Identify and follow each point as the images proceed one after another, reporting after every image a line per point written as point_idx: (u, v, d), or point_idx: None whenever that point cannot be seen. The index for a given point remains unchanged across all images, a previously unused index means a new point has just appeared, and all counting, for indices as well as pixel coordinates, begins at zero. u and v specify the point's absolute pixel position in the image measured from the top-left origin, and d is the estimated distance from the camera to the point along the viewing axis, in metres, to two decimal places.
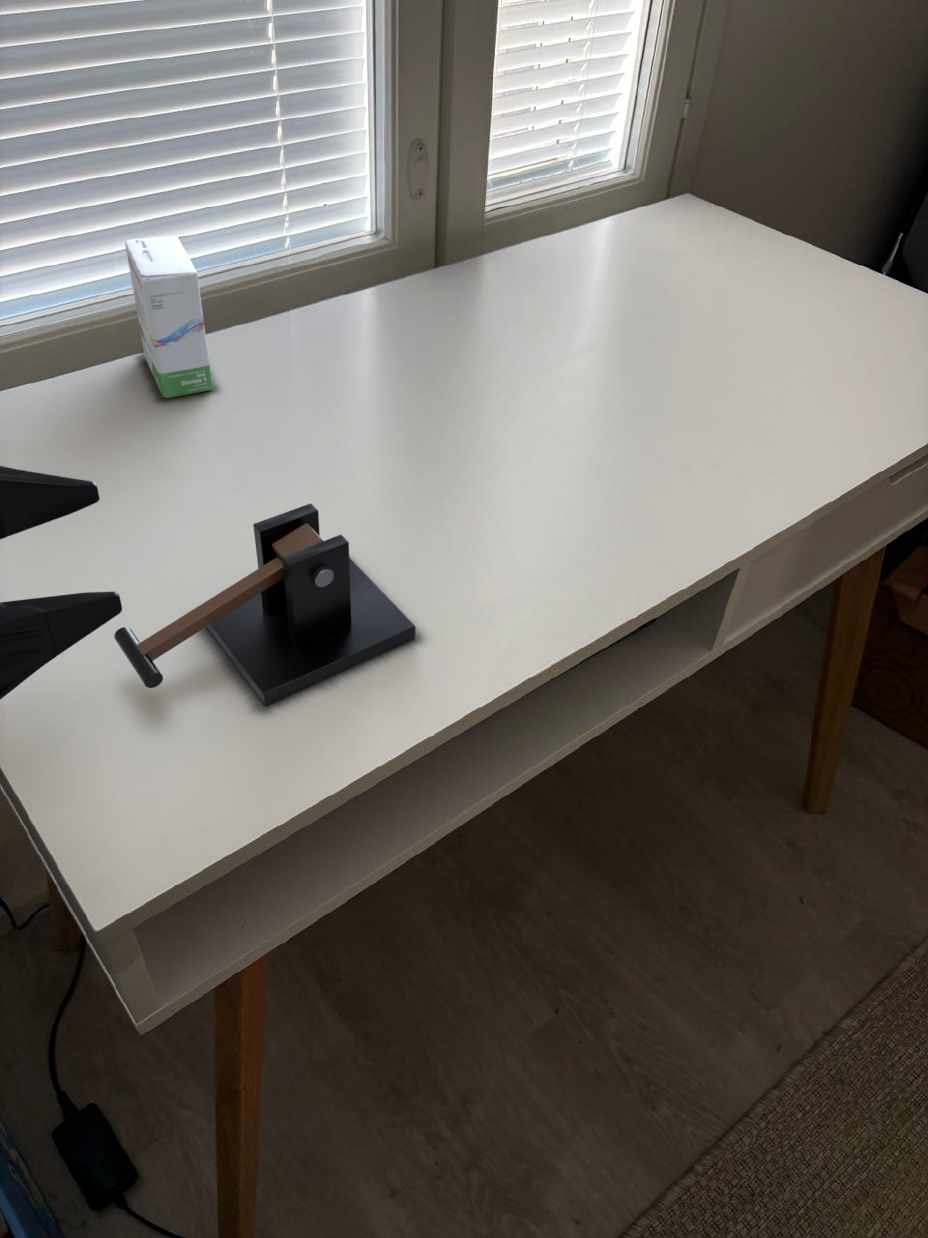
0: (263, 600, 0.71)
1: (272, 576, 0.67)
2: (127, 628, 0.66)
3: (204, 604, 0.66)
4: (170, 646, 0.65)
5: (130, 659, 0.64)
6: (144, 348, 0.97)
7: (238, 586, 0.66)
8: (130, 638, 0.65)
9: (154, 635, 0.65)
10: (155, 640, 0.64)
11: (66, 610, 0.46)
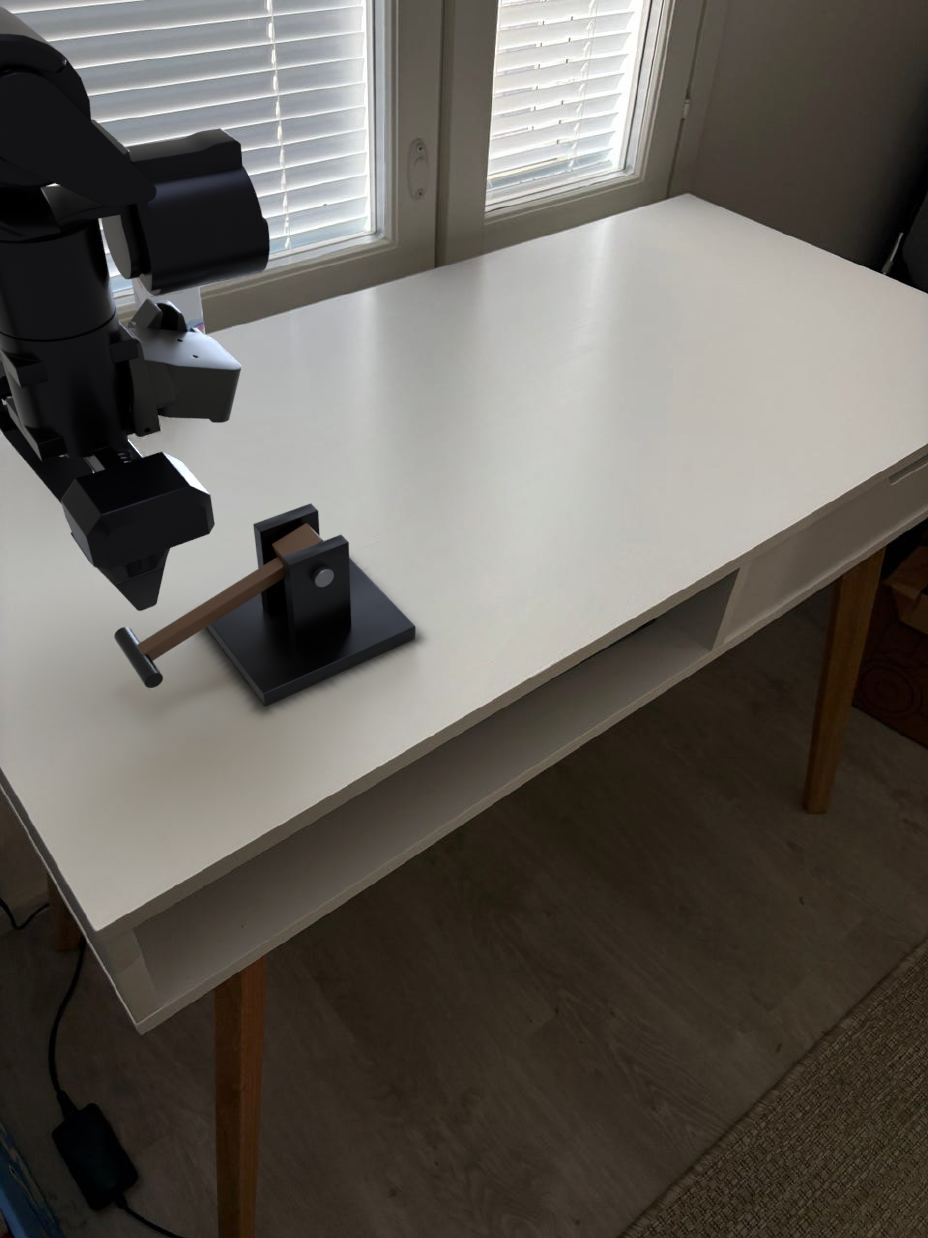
0: (263, 600, 0.71)
1: (272, 576, 0.67)
2: (127, 628, 0.66)
3: (204, 604, 0.66)
4: (170, 646, 0.65)
5: (130, 659, 0.64)
6: None
7: (238, 586, 0.66)
8: (130, 638, 0.65)
9: (154, 635, 0.65)
10: (155, 640, 0.64)
11: (159, 578, 0.55)
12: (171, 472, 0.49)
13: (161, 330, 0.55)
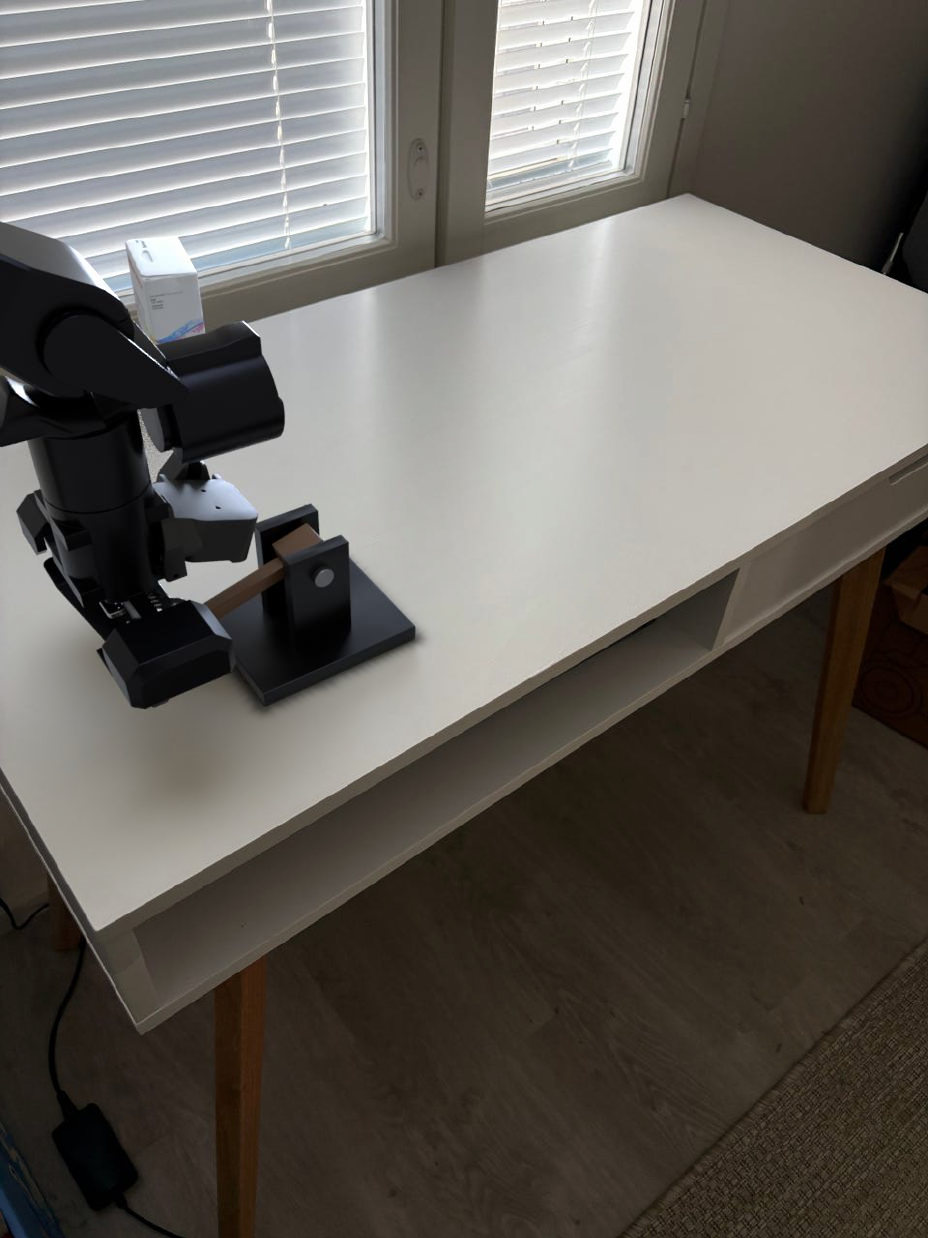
0: (263, 600, 0.71)
1: (272, 576, 0.67)
2: None
3: (204, 604, 0.66)
4: None
5: None
6: None
7: (238, 586, 0.66)
8: None
9: None
10: None
11: None
12: (198, 621, 0.56)
13: (187, 481, 0.61)
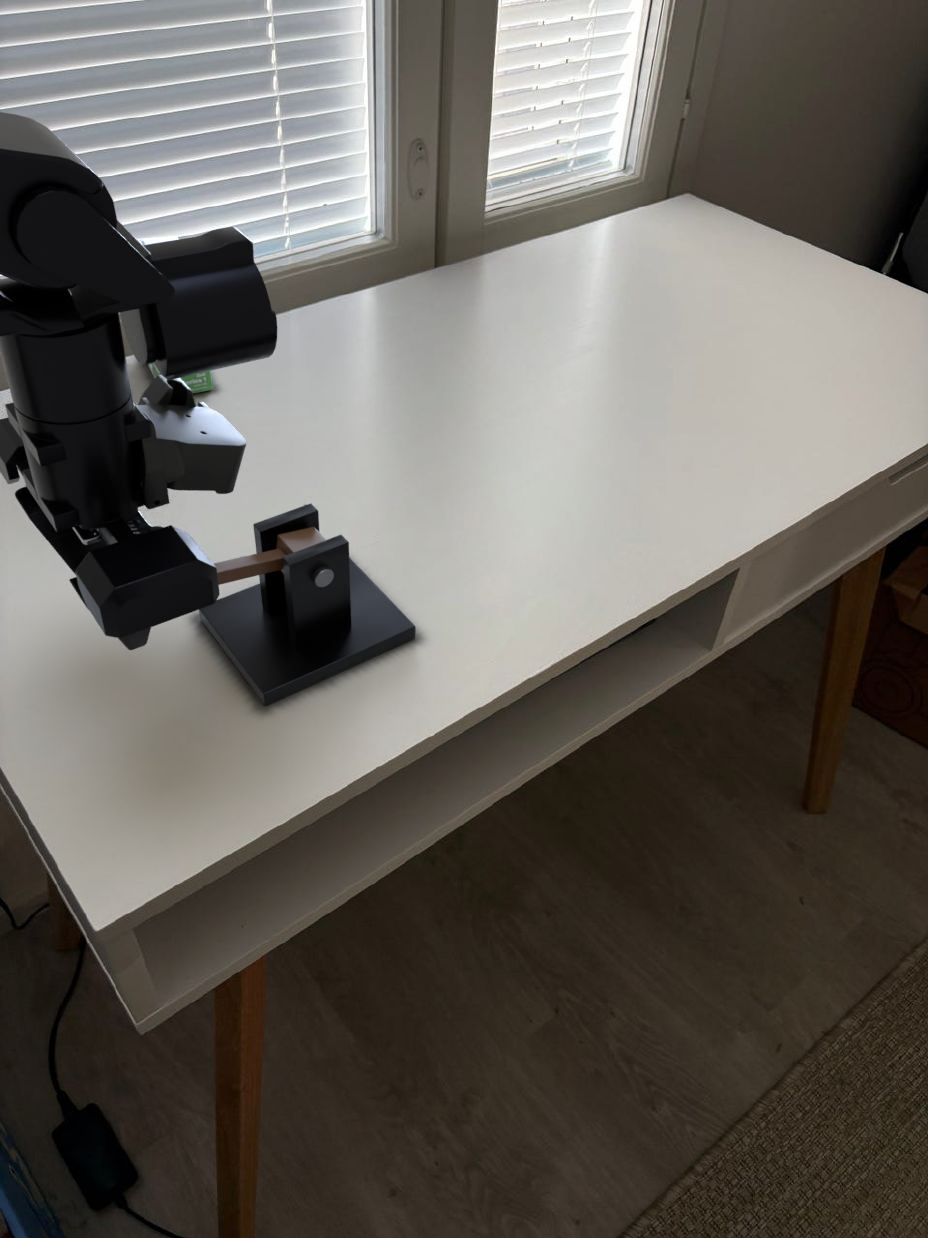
0: (263, 600, 0.71)
1: (271, 563, 0.66)
2: None
3: None
4: None
5: None
6: None
7: (236, 562, 0.65)
8: None
9: None
10: None
11: None
12: (180, 546, 0.52)
13: (171, 406, 0.58)
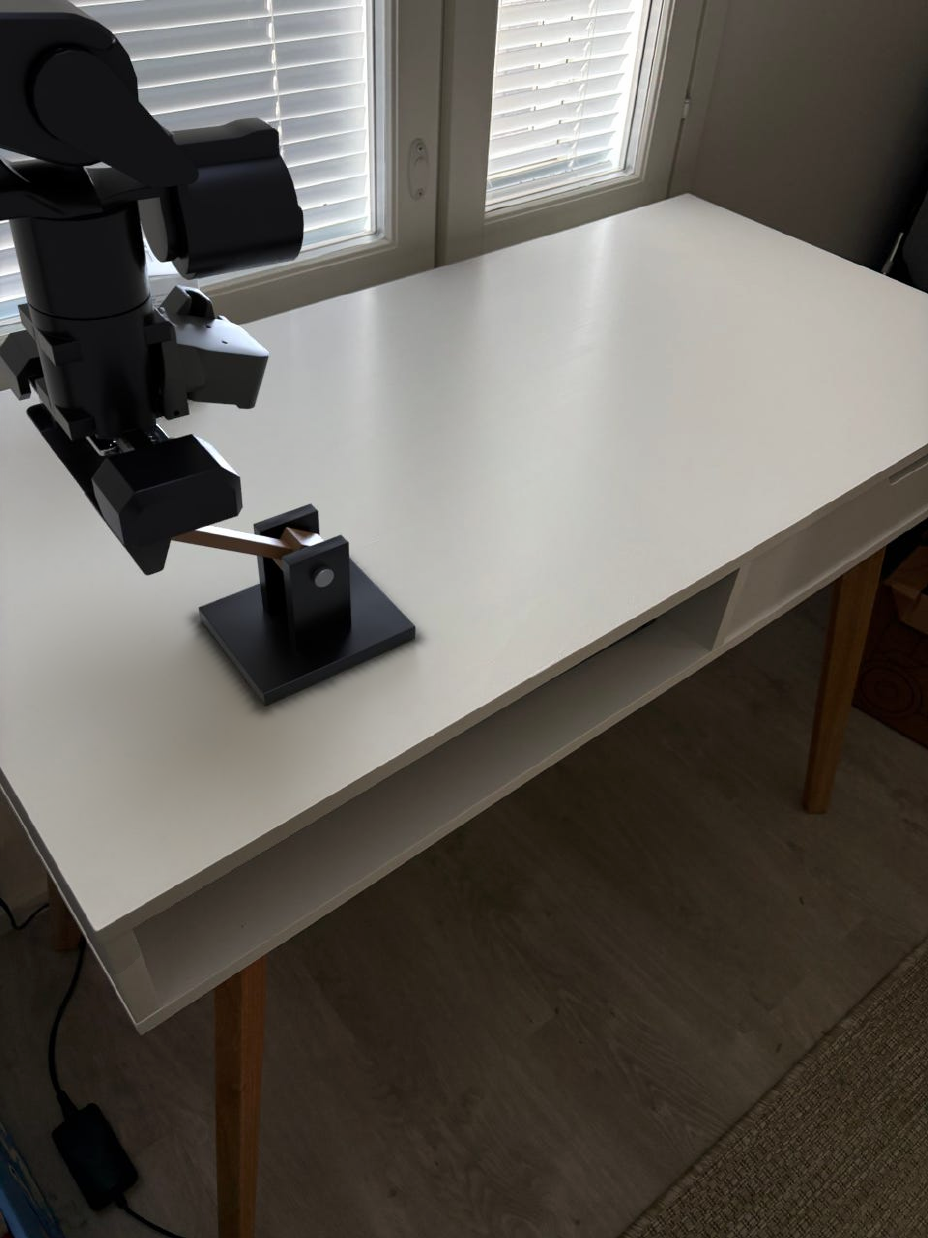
0: (263, 600, 0.71)
1: (277, 549, 0.65)
2: None
3: (213, 527, 0.62)
4: None
5: None
6: None
7: (247, 535, 0.64)
8: None
9: None
10: None
11: (168, 542, 0.56)
12: (202, 453, 0.49)
13: (190, 316, 0.55)
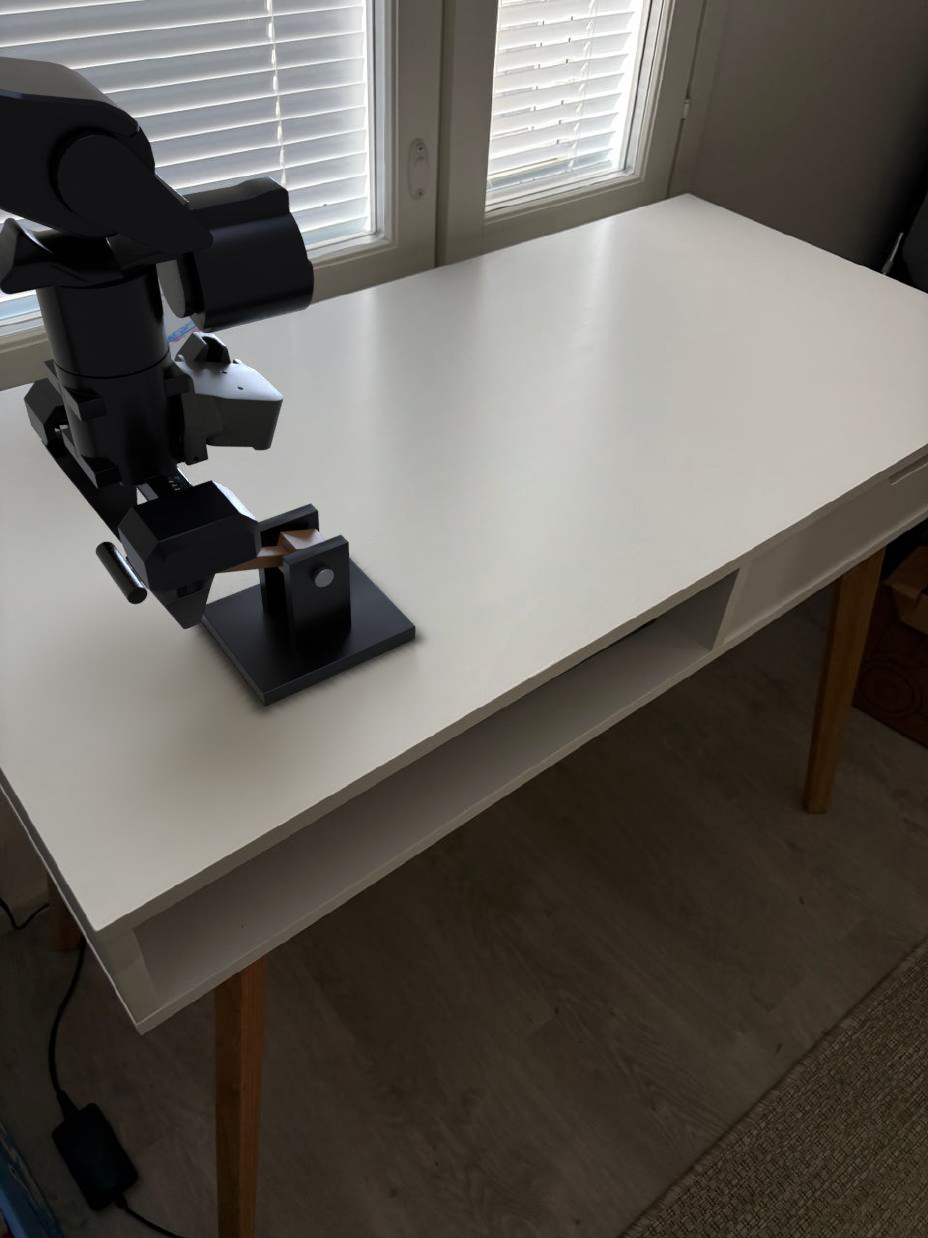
0: (263, 600, 0.71)
1: (273, 558, 0.66)
2: (114, 545, 0.61)
3: None
4: None
5: (115, 569, 0.59)
6: None
7: None
8: (117, 553, 0.60)
9: None
10: None
11: (205, 598, 0.57)
12: (221, 500, 0.52)
13: (207, 362, 0.57)
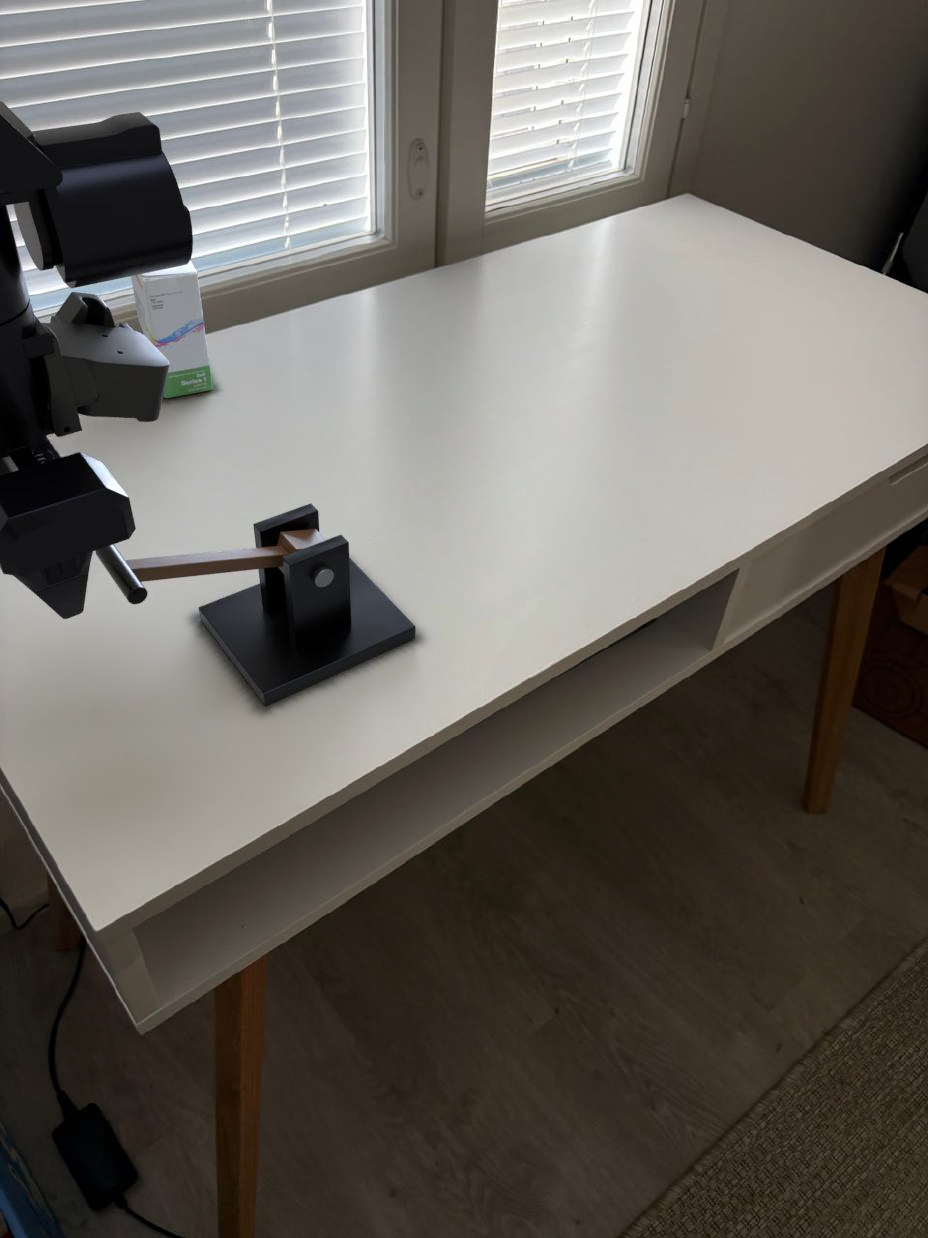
0: (263, 600, 0.71)
1: (273, 558, 0.66)
2: (114, 545, 0.61)
3: (202, 554, 0.63)
4: (156, 576, 0.61)
5: (115, 569, 0.59)
6: None
7: (239, 553, 0.65)
8: (117, 553, 0.60)
9: (145, 559, 0.61)
10: (146, 563, 0.60)
11: (84, 584, 0.52)
12: (87, 474, 0.46)
13: (86, 325, 0.52)
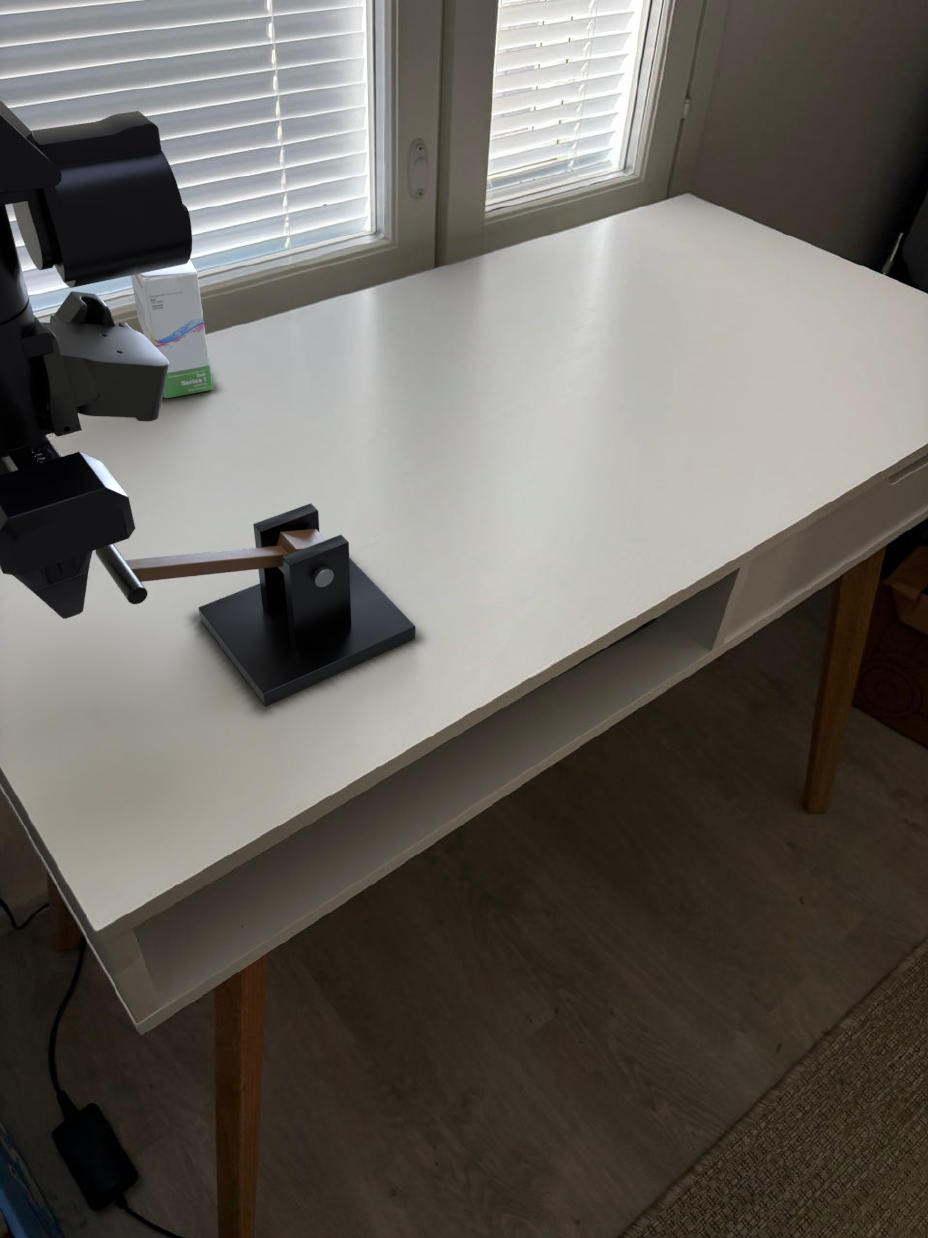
0: (263, 600, 0.71)
1: (273, 558, 0.66)
2: (114, 545, 0.61)
3: (202, 554, 0.63)
4: (156, 576, 0.61)
5: (115, 569, 0.59)
6: None
7: (239, 553, 0.65)
8: (117, 553, 0.60)
9: (145, 559, 0.61)
10: (146, 563, 0.60)
11: (83, 584, 0.52)
12: (87, 473, 0.46)
13: (85, 324, 0.52)
